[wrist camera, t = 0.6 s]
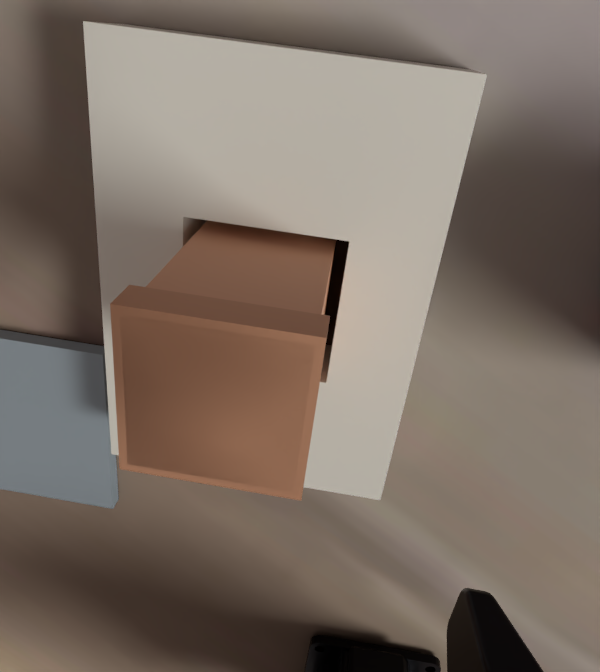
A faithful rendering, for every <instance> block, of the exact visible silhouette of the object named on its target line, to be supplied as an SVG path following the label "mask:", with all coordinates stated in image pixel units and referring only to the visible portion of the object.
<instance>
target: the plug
mask: <svg viewBox="0 0 600 672" xmlns="http://www.w3.org/2000/svg"><path fill="white" fill-rule="evenodd" d="M335 246H336V239H330V238H323V237H316V236H309V235H303V234H296V233H289V232H282V231H276V230H269V229H262V228H255V227H249V226H242V225H235V224H229V223H222V222H215V221H208V220H207V221H206V222H205V223H204V225H203V226H202V227H201V228H200V229H199V230H198V231H197V232H196V233H195V234H194V235H193V236H192V237H191V239H190V240H189V241H188V242H187V243H186V244H185V245H184V246H183V247H182V248H181V249H180V250H179V251H178V253H177V254H176V255H175V256H174V257H173V258H172V259H171V260H170V261H169V262H168V263H167V264H166V265H165V267H164V268H163V269H162V270H161V271H160V272H159V273H158V274H157V275H156V276H155V277H154V278H153V279H152V281H151V282H150V283H149V284H148V285H147V286H146V287H141V286H135V285H129V286H128V287H127V288H126V289H125V290H124V291H123V292H122V293H121V294H119V295H118V296H117V297H116V298H115V299H114V300H113V301H112V302H111V303H110V311H111V329H112V346H113V363H114V381H115V398H116V415H117V433H118V450H119V467H120V469H122V470H128V471H134V472H139V473H145V474H151V475H157V476H162V477H168V478H174V479H180V480H186V481H191V482H197V483H203V484H209V485H214V486H220V487H226V488H232V489H238V490H243V491H249V492H255V493H261V494H266V495H272V496H278V497H284V498H290V499H295V500H301V498H302V492H303V486H304V480H305V473H306V467H307V461H308V454H309V448H310V442H311V435H312V429H313V423H314V416H315V410H316V403H317V397H318V391H319V384H320V378H321V372H322V365H323V359H324V352H325V346H326V340H327V333H328V327H329V321H330V316H328V315H325V312H326V306H327V299H328V292H329V286H330V279H331V273H332V266H333V259H334V253H335Z"/></svg>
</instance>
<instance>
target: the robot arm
mask: <svg viewBox="0 0 600 672" xmlns="http://www.w3.org/2000/svg"><path fill="white" fill-rule="evenodd" d="M440 671H441V668H440V661H439V659H438V658H437V657H434V656H431V655H426V654H420V653H415V652H409V651H404V650H398V649H393V648H388V647H382V646H377V645H371V644H366V643H361V642H355V641H350V640H344V639H339V638H334V637H328V636H323V635H316V636H314V637H312V638H311V641H310V646H309V651H308V656H307V661H306V666H305V671H304V672H440ZM447 672H543V670H542V669H541V667H540V666H539V664H538V663H537V661H536V660H535V658H534V657H533V655H532V654H531V652H530V651H529V649H528V648H527V646H526V645H525V643H524V642H523V640H522V639H521V637H520V636H519V634H518V633H517V631H516V630H515V628H514V627H513V625H512V624H511V622H510V621H509V619H508V618H507V616H506V615H505V613H504V612H503V610H502V609H501V607H500V606H499V604H498V603H497V601H496V600H495V598H494V597H493V596H492V595H491V594H490V593H488V592H485V591H480V590H475V589H470V588H465V589H463V590H462V591H461V592H460V594H459V597H458V599H457V602H456V604H455V607H454V609H453V612H452V614H451V617H450V619H449V622H448V627H447Z"/></svg>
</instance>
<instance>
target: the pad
mask: <svg viewBox="0 0 600 672" xmlns="http://www.w3.org/2000/svg"><path fill="white" fill-rule="evenodd" d="M0 489H4V490H9V491H15V492H21V493H26V494H32V495H38V496H43V497H49V498H55V499H60V500H66V501H72V502H77V503H83V504H89V505H94V506H100V507H106V508H111V509H113V508H114V506H115V504H116V503H117V501H118V499H119V498H118V482H117V465H116V455H114V454H111V441H110V425H109V410H108V395H107V380H106V364H105V349H104V346H99V345H93V344H86V343H80V342H74V341H68V340H62V339H55V338H49V337H43V336H37V335H31V334H25V333H18V332H12V331H6V330H0Z"/></svg>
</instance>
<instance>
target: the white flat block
mask: <svg viewBox="0 0 600 672" xmlns="http://www.w3.org/2000/svg"><path fill="white" fill-rule="evenodd" d="M83 29H84V45H85V60H86V75H87V90H88V105H89V121H90V136H91V151H92V166H93V182H94V197H95V212H96V227H97V243H98V258H99V273H100V288H101V303H102V319H103V334H104V349H105V364H106V380H107V395H108V410H109V425H110V441H111V454H114V455H119V450H118V433H117V415H116V398H115V381H114V363H113V346H112V329H111V311H110V303H111V302H112V301H113V300H114V299H115V298H116V297H117V296H118V295H119V294H121V293H122V292H123V291H124V290H125V289H126V288H127V287H128V286H129V285H135V286H141V287H146V286H147V285H148V284H149V283H150V282H151V281H152V279H153V278H154V277H155V276H156V275H157V274H158V273H159V272H160V271H161V270H162V269H163V268H164V267H165V265H166V264H167V263H168V262H169V261H170V260H171V259H172V258H173V257H174V256H175V255H176V254H177V253H178V251H179V250H180V249H181V248H182V247H183V246H184V245H185V244H186V243H187V242H188V241H189V240H190V239H191V237H192V236H193V235H194V234H195V233H196V232H197V231H198V230H199V229H200V228H201V227H202V226H203V225H204V223H205V221H206V220H208V221H215V222H222V223H229V224H235V225H242V226H249V227H255V228H262V229H269V230H276V231H282V232H289V233H296V234H303V235H309V236H316V237H323V238H330V239H336V240H343V241H349V242H348V248H347V254H346V260H345V266H344V272H343V279H342V285H341V291H340V297H339V303H338V309H337V315H336V322H335V328H334V334H333V340H332V346H331V345H326V346H325V352H324V359H323V365H322V372H321V378H320V384H319V391H318V397H317V403H316V410H315V416H314V423H313V429H312V435H311V442H310V448H309V454H308V461H307V467H306V473H305V480H304V486H303V487H306V488H312V489H318V490H323V491H329V492H335V493H341V494H347V495H353V496H358V497H364V498H370V499H376V500H380V499H381V495H382V491H383V487H384V483H385V479H386V475H387V471H388V468H389V464H390V460H391V456H392V452H393V448H394V444H395V440H396V436H397V432H398V428H399V424H400V420H401V416H402V412H403V408H404V404H405V400H406V396H407V392H408V388H409V384H410V380H411V376H412V372H413V368H414V364H415V360H416V356H417V352H418V348H419V344H420V340H421V336H422V332H423V328H424V324H425V320H426V316H427V312H428V308H429V304H430V300H431V296H432V292H433V288H434V284H435V280H436V276H437V272H438V268H439V264H440V260H441V256H442V252H443V248H444V244H445V240H446V236H447V233H448V229H449V225H450V221H451V217H452V213H453V209H454V205H455V201H456V197H457V193H458V189H459V185H460V181H461V177H462V173H463V169H464V165H465V161H466V157H467V153H468V149H469V145H470V141H471V137H472V133H473V129H474V125H475V121H476V117H477V113H478V109H479V105H480V101H481V97H482V93H483V89H484V85H485V81H486V77H487V74H484V73H481V72H478V71H474V70H471V69H463V68H455V67H448V66H440V65H432V64H425V63H417V62H410V61H402V60H394V59H387V58H379V57H372V56H364V55H356V54H349V53H341V52H334V51H326V50H318V49H311V48H303V47H296V46H288V45H280V44H273V43H265V42H258V41H250V40H242V39H235V38H227V37H220V36H212V35H204V34H197V33H189V32H181V31H174V30H166V29H159V28H151V27H143V26H136V25H128V24H118V23H103V22H88V21H83Z"/></svg>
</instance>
